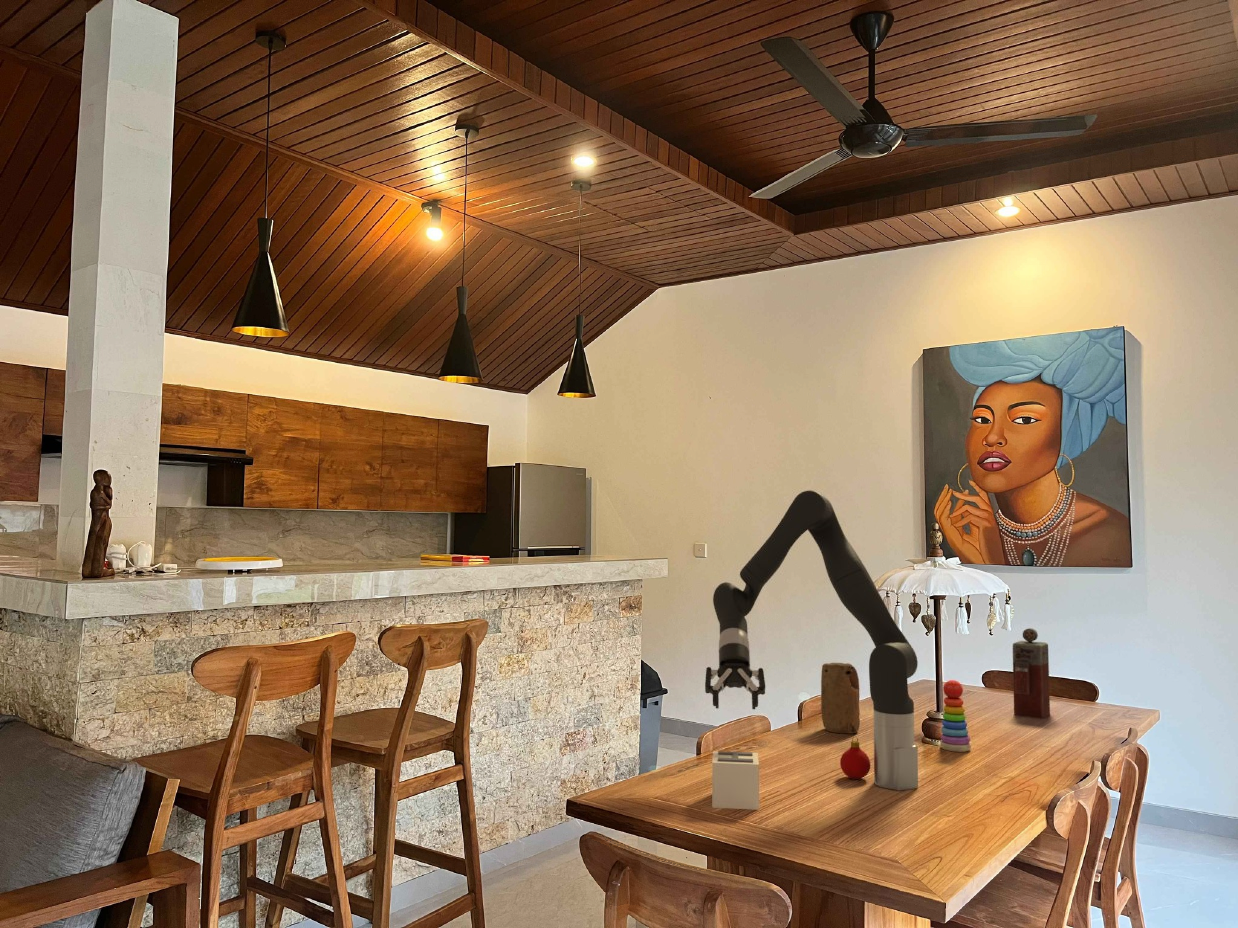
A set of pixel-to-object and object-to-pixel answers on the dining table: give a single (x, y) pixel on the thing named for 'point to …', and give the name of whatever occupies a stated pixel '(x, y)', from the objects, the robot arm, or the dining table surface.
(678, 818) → the dining table surface
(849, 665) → the block
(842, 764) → the christmas ornament
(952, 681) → the stacking toy
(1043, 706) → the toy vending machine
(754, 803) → the plain beige cube
